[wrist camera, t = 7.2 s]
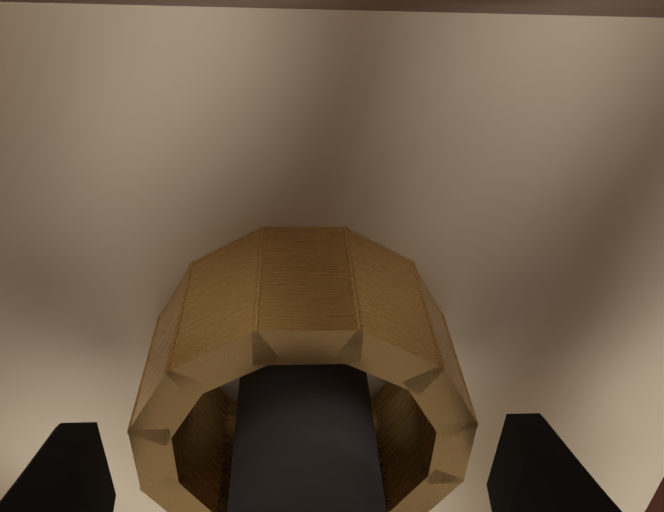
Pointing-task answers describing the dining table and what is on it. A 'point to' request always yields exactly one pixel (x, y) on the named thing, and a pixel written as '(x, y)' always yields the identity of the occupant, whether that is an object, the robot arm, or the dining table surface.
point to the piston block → (339, 218)
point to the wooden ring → (300, 362)
